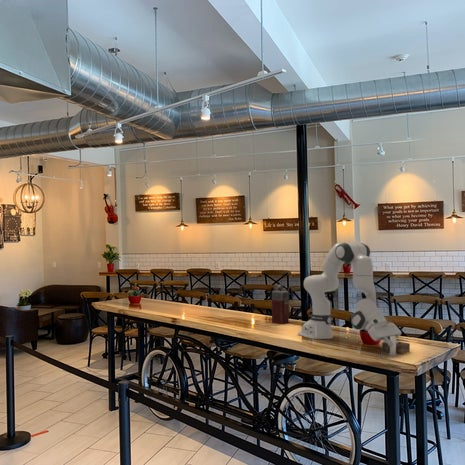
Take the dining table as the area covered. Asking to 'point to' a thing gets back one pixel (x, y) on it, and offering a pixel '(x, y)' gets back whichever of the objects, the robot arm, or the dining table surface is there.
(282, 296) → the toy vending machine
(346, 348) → the dining table surface
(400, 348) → the socket block
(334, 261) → the robot arm
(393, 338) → the peg
